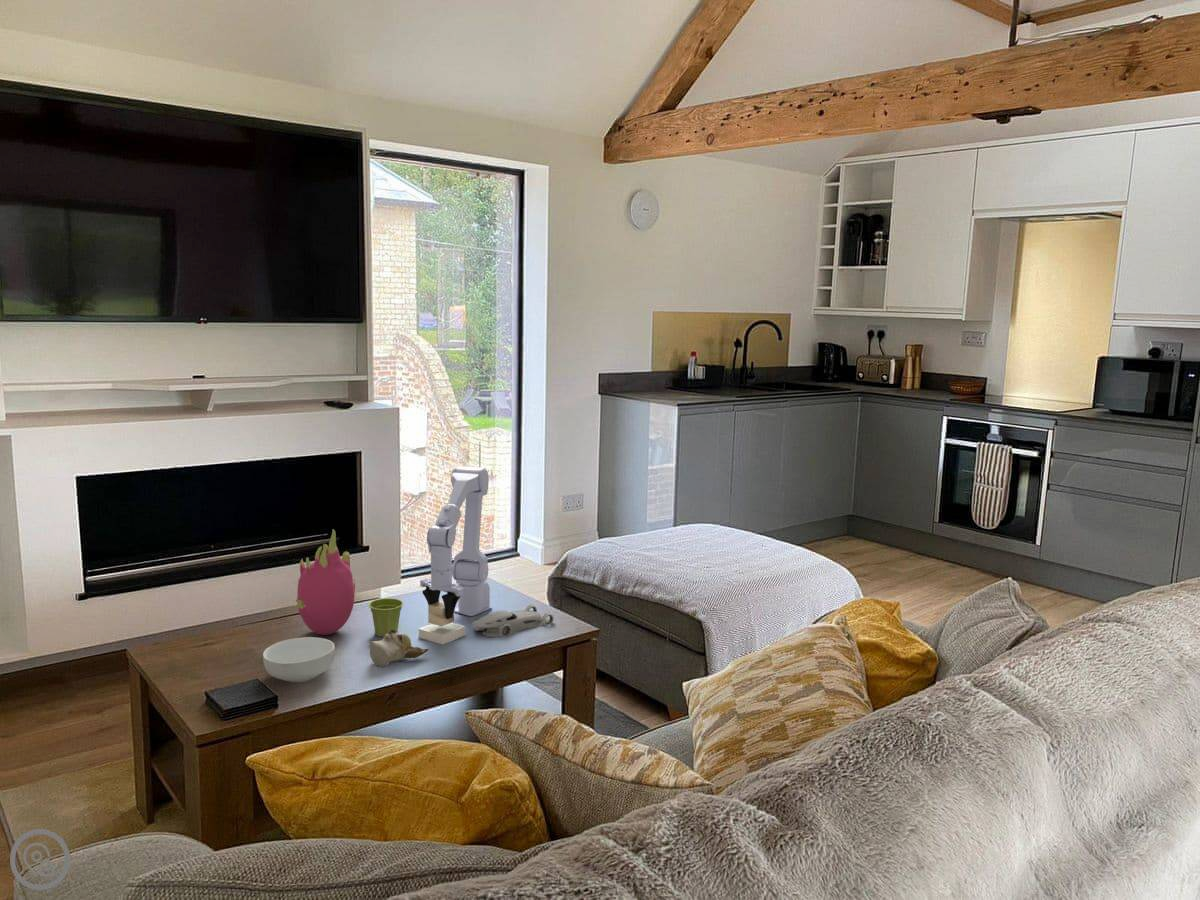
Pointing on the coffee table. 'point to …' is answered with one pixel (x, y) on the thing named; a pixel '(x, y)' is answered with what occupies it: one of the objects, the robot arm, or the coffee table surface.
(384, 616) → the plant pot
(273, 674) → the cereal bowl
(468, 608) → the robot arm
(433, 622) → the maple cube
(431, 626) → the cream square tray
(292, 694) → the coffee table surface
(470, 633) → the coffee table surface
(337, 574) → the pink dragon fruit
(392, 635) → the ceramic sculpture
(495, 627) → the car model
